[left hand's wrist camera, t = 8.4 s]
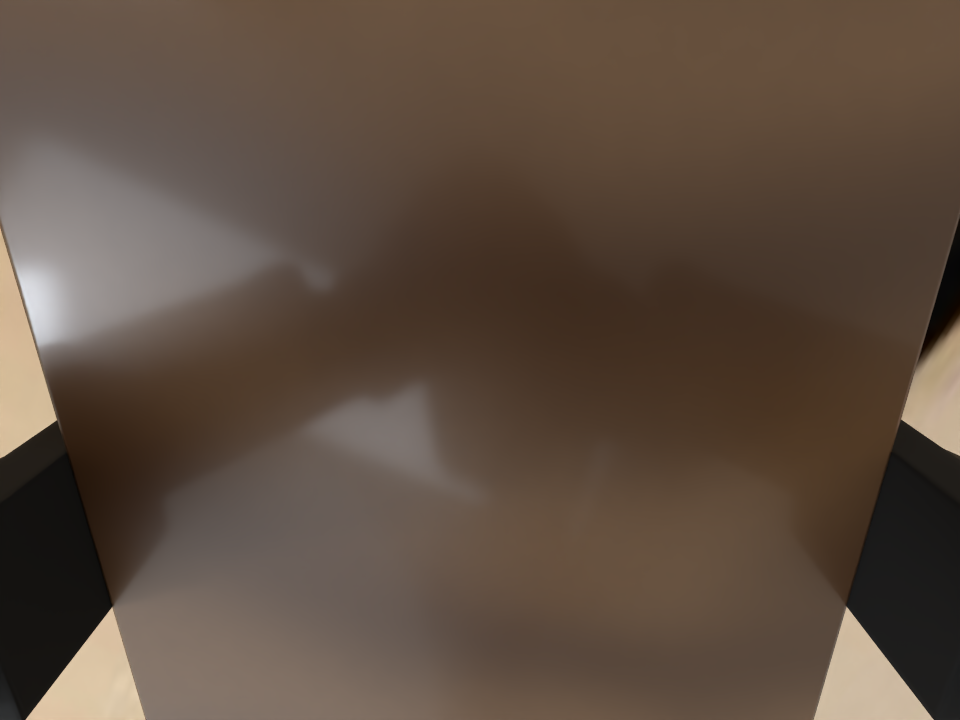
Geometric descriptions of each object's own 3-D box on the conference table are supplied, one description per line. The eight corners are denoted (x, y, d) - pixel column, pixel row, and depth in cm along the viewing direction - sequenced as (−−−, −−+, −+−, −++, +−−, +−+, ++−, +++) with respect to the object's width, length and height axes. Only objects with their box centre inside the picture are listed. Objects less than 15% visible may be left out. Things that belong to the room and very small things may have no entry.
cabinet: (208, -336, 12) (-560, -1638, 3) (747, -336, 12) (1506, -1633, 3) (308, 467, 19) (157, 770, 10) (650, 466, 19) (801, 768, 10)
